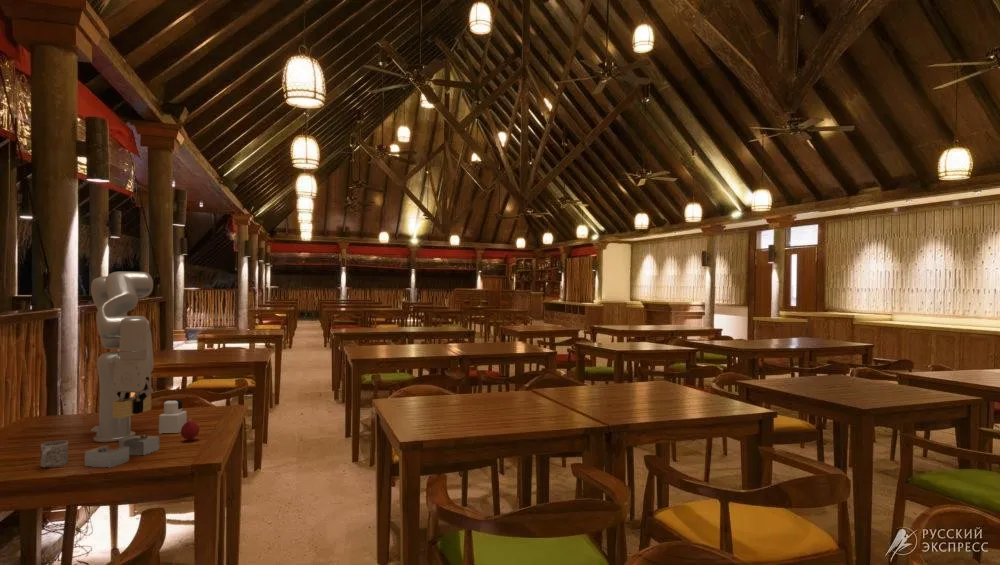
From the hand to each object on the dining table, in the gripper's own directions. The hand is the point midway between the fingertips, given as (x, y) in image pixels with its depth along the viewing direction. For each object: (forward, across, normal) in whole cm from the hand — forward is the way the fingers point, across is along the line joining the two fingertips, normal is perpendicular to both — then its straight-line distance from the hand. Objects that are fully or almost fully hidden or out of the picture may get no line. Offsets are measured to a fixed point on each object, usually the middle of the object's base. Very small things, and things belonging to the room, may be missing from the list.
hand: (132, 412), depth 183 cm
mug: (+15, -18, -11) cm, 26 cm away
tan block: (0, 0, 0) cm, 0 cm away
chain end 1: (+15, -2, -7) cm, 16 cm away
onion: (+15, +5, +21) cm, 27 cm away
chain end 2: (+15, -2, +6) cm, 16 cm away
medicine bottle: (+16, -11, +34) cm, 39 cm away
